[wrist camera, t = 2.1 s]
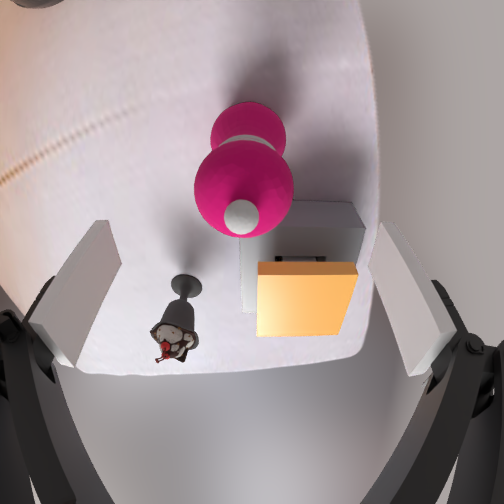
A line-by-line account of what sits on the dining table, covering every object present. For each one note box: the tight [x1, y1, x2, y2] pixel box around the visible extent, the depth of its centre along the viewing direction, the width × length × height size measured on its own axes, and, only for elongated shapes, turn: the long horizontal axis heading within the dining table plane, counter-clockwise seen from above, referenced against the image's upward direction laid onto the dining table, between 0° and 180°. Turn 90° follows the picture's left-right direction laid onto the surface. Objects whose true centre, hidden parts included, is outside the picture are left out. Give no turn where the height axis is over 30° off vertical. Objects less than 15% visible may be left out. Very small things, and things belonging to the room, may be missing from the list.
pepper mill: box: [194, 102, 294, 238], centre depth 22 cm, size 7×7×20 cm
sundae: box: [150, 275, 202, 363], centre depth 39 cm, size 7×7×15 cm
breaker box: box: [239, 200, 366, 313], centre depth 37 cm, size 14×14×6 cm
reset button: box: [257, 256, 358, 337], centre depth 33 cm, size 10×10×7 cm
